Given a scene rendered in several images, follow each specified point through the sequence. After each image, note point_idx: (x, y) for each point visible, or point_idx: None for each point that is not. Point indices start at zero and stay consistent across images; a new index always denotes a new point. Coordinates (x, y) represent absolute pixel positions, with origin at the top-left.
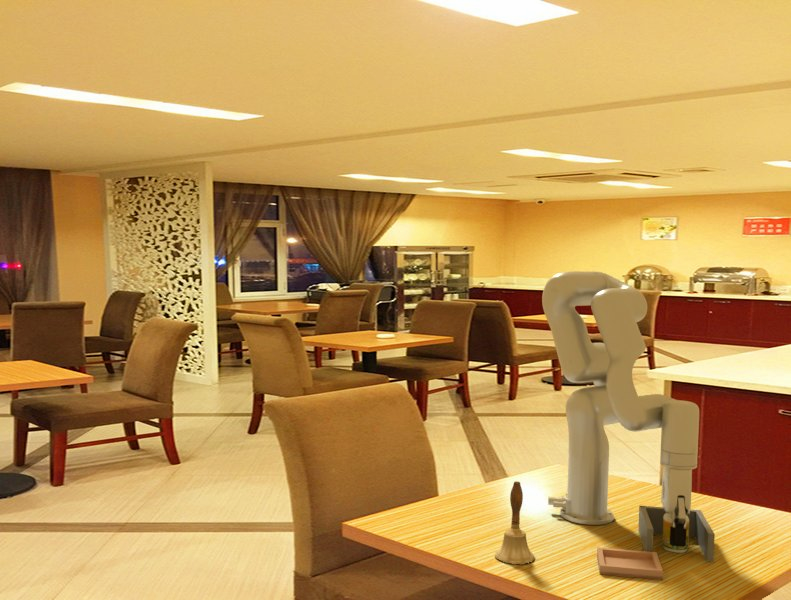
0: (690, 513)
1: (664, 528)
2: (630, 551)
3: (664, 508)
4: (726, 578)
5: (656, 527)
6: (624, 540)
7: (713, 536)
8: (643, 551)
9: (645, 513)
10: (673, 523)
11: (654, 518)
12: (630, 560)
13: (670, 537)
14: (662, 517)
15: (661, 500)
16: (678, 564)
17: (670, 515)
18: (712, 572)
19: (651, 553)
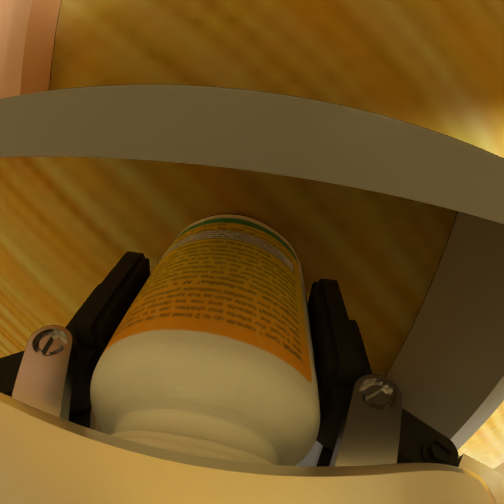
0: None
1: (180, 279)
2: (17, 10)
3: (33, 432)
4: (11, 339)
5: (466, 258)
6: (350, 11)
7: None
8: (18, 74)
9: (468, 188)
10: (27, 355)
11: (500, 273)
12: (5, 22)
13: (109, 275)
14: (483, 325)
15: (411, 498)
16: (42, 232)
17: (134, 413)
18: (29, 323)
19: None
